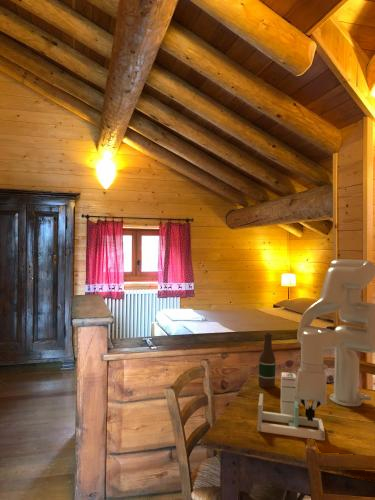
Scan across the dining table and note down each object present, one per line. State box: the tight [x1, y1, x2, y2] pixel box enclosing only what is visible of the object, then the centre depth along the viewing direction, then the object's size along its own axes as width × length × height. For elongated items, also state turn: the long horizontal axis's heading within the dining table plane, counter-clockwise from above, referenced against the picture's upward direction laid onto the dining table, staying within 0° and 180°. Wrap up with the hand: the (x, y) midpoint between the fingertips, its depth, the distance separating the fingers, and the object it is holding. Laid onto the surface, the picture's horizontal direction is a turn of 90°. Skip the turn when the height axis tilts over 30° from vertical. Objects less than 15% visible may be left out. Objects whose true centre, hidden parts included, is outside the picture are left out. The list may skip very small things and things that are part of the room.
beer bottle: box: [257, 332, 277, 389], centre depth 176 cm, size 8×8×24 cm
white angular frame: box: [256, 393, 326, 442], centre depth 134 cm, size 22×11×9 cm, turn 76°
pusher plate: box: [288, 401, 300, 428], centre depth 134 cm, size 3×7×9 cm, turn 166°
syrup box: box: [280, 371, 297, 415], centre depth 148 cm, size 6×6×14 cm
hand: (309, 419), depth 133 cm, fingers closed
